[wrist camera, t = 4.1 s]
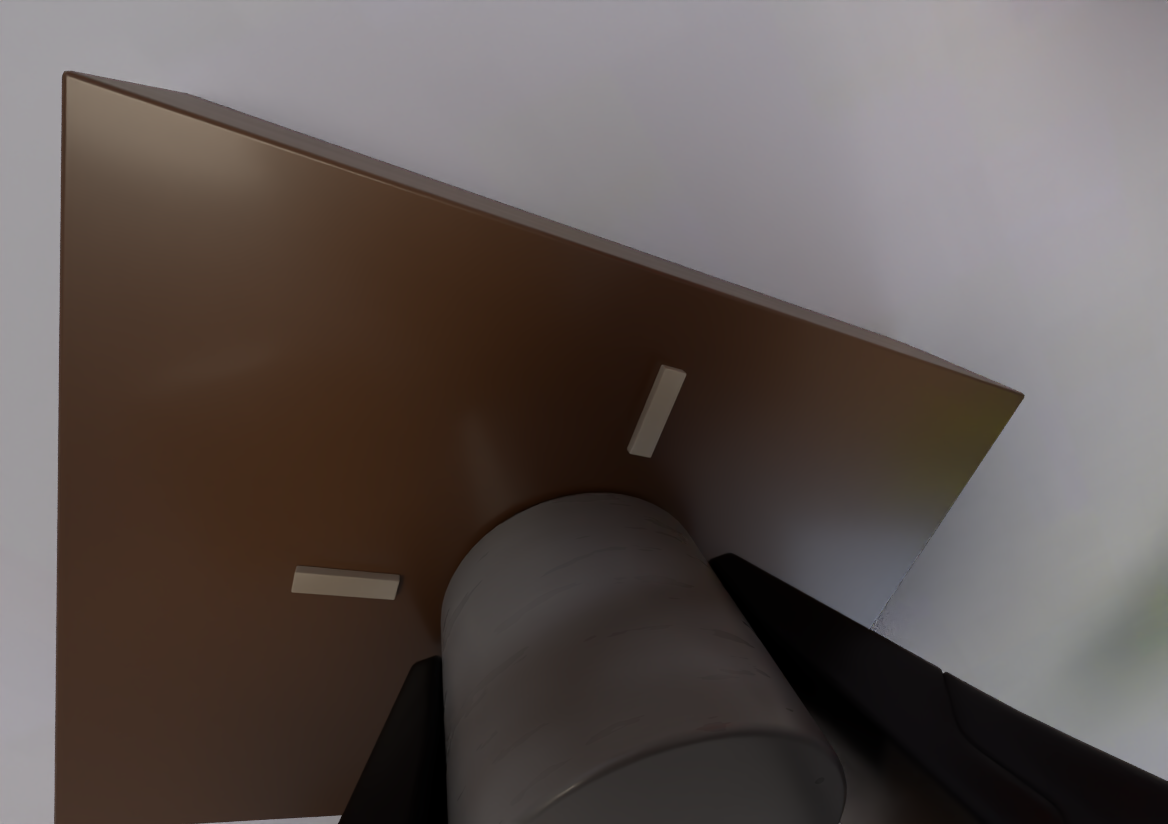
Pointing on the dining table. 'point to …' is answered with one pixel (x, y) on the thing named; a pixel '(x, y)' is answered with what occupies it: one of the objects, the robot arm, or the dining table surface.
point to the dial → (617, 682)
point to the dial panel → (402, 440)
